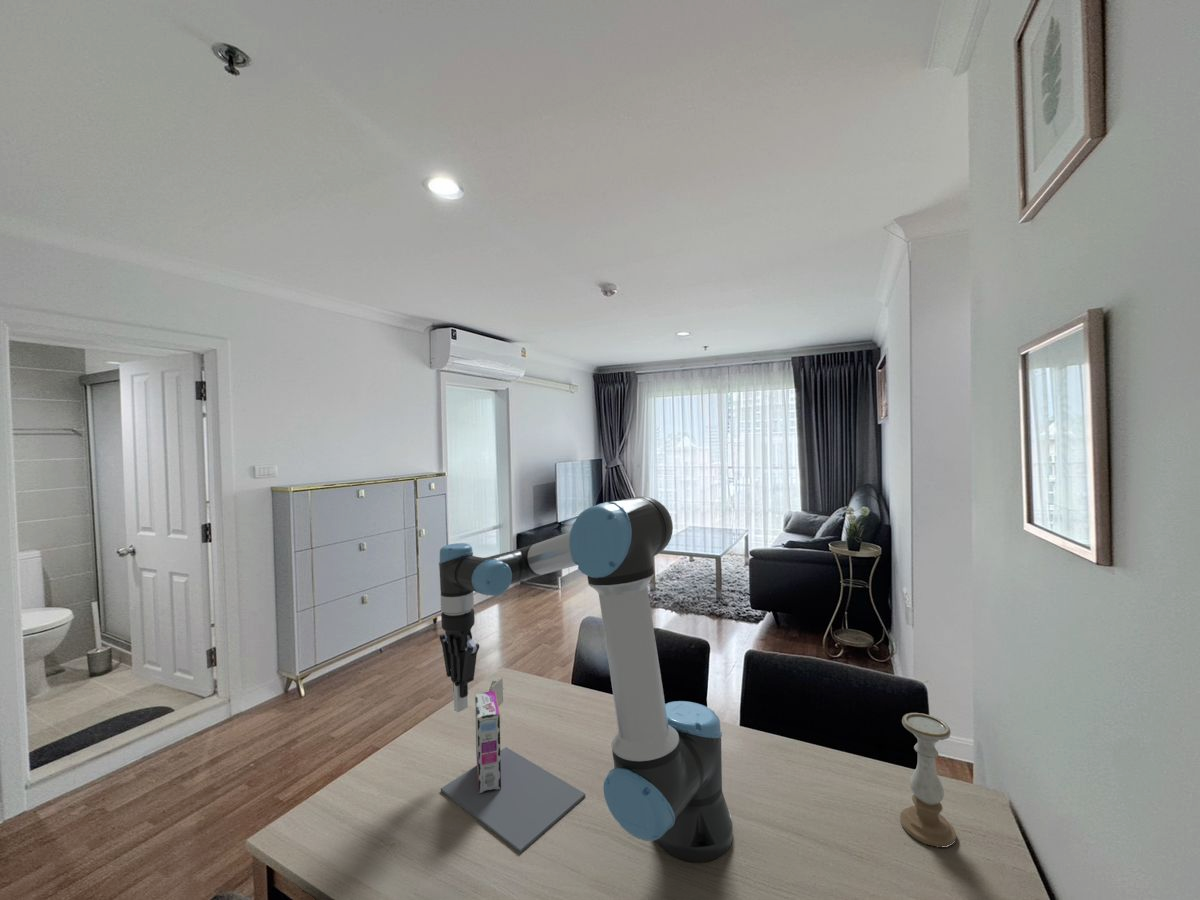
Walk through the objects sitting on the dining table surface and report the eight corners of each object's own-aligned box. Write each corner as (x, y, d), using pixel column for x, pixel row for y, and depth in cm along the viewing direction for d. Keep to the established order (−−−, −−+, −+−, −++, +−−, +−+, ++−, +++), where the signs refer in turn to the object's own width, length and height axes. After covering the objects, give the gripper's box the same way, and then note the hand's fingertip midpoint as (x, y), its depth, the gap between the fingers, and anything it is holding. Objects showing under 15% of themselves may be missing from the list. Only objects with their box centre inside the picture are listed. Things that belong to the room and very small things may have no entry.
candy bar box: (502, 789, 105) (500, 714, 105) (478, 795, 104) (476, 718, 103) (497, 757, 116) (495, 689, 115) (476, 762, 114) (473, 693, 114)
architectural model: (482, 711, 138) (481, 685, 138) (495, 698, 145) (494, 674, 144) (492, 713, 137) (491, 687, 137) (505, 700, 143) (504, 675, 143)
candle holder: (889, 819, 95) (887, 716, 94) (921, 806, 98) (919, 706, 97) (934, 855, 86) (932, 742, 86) (967, 839, 90) (965, 730, 89)
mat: (585, 796, 103) (585, 793, 103) (520, 853, 89) (520, 849, 89) (505, 749, 120) (505, 746, 120) (440, 791, 106) (440, 788, 106)
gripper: (487, 611, 114) (491, 711, 115) (455, 600, 122) (458, 693, 123) (460, 620, 108) (463, 725, 109) (428, 609, 117) (431, 706, 117)
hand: (461, 708), depth 116 cm, fingers closed
